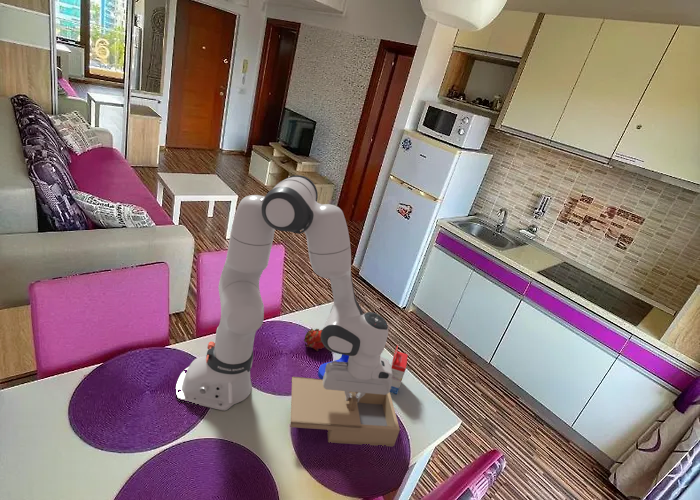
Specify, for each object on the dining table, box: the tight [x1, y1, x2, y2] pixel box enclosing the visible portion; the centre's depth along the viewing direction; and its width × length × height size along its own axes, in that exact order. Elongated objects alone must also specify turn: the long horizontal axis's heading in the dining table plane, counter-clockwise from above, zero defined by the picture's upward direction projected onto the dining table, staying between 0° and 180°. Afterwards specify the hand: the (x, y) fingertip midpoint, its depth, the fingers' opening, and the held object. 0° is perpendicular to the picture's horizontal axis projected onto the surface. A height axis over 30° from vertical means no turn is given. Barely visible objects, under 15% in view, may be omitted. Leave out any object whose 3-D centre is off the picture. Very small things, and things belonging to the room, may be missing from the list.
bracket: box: [317, 354, 349, 379], centre depth 143 cm, size 18×8×9 cm, turn 124°
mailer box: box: [327, 392, 400, 447], centre depth 124 cm, size 20×16×7 cm
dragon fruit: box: [303, 328, 326, 352], centre depth 153 cm, size 8×8×12 cm
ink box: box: [390, 344, 409, 395], centre depth 142 cm, size 8×5×15 cm, turn 168°
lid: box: [289, 376, 361, 432], centre depth 120 cm, size 20×18×5 cm
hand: (351, 399), depth 121 cm, fingers closed on lid
